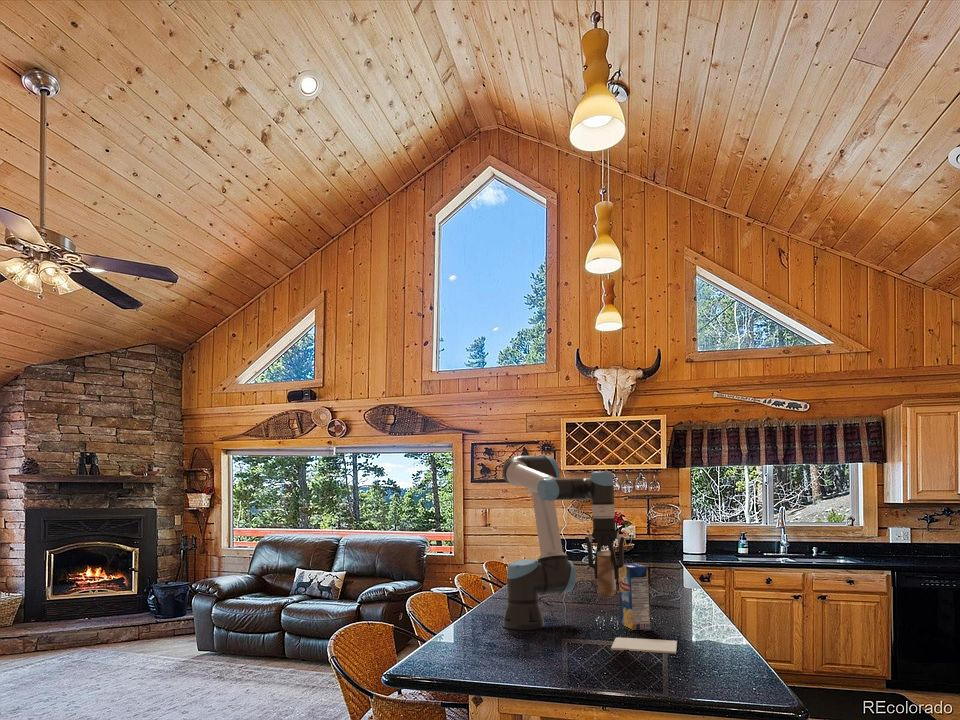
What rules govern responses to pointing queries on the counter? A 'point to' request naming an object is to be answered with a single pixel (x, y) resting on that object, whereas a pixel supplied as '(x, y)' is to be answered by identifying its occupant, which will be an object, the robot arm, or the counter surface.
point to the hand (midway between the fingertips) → (607, 589)
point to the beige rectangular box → (605, 573)
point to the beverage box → (634, 596)
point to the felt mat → (645, 645)
